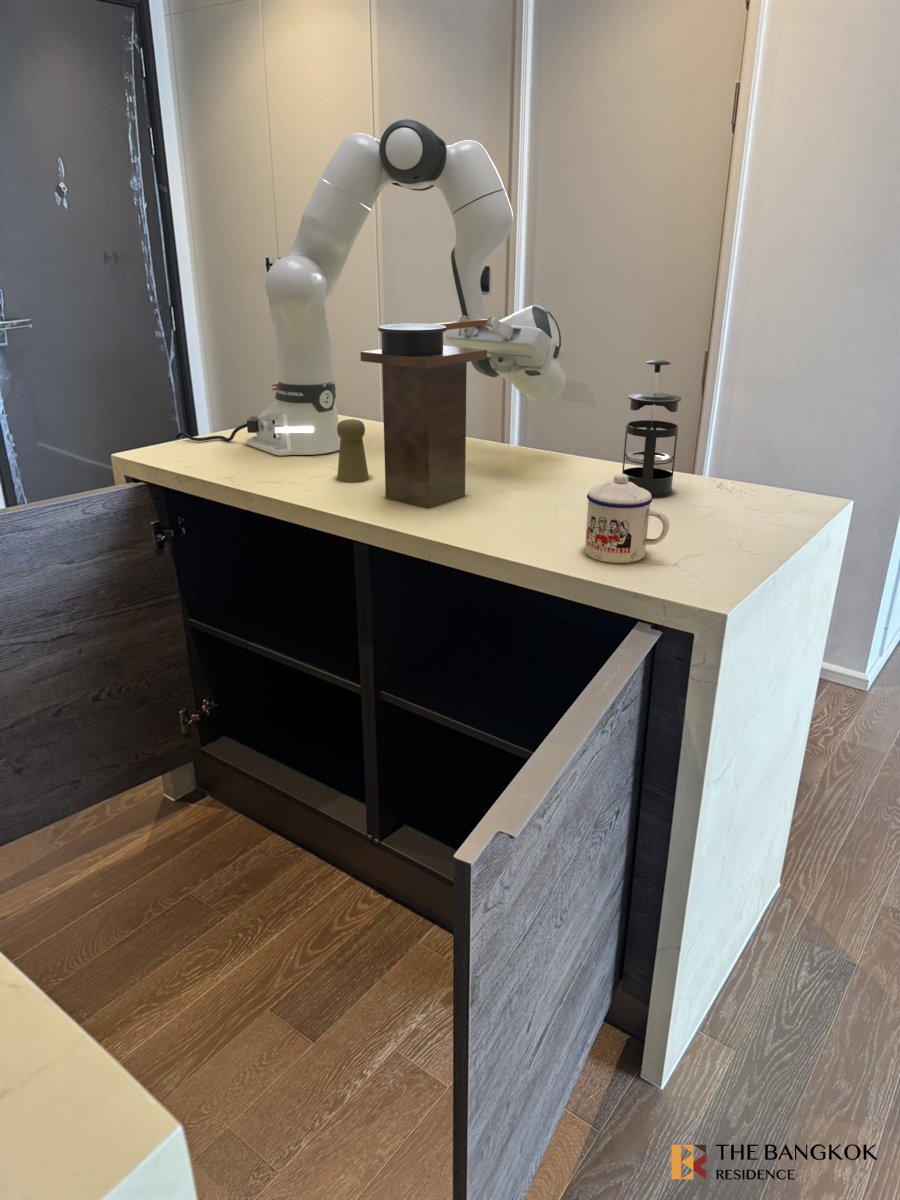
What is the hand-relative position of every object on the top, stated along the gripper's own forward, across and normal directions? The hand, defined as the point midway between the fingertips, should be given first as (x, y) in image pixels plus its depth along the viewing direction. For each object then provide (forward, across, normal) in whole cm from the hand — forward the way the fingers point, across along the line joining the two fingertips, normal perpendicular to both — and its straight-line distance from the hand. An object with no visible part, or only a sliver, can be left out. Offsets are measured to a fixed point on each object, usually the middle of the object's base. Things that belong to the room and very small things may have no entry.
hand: (475, 320), depth 151 cm
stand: (-3, 0, +32) cm, 32 cm away
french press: (-28, +28, +18) cm, 43 cm away
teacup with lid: (+2, +42, +35) cm, 54 cm away
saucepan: (+6, 0, +8) cm, 10 cm away
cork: (-4, -19, +32) cm, 37 cm away
